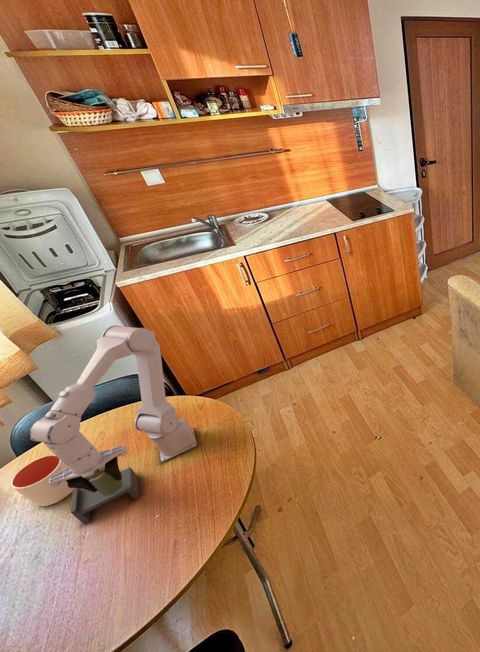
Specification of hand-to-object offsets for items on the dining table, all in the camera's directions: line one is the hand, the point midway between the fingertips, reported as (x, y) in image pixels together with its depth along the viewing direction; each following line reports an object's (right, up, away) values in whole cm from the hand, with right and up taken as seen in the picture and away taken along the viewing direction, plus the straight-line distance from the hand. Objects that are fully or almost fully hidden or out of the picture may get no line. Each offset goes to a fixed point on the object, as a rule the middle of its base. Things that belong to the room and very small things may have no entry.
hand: (107, 483), depth 99 cm
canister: (0, -2, +1) cm, 2 cm away
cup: (-22, -6, +8) cm, 24 cm away
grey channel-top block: (-4, -7, +6) cm, 10 cm away
